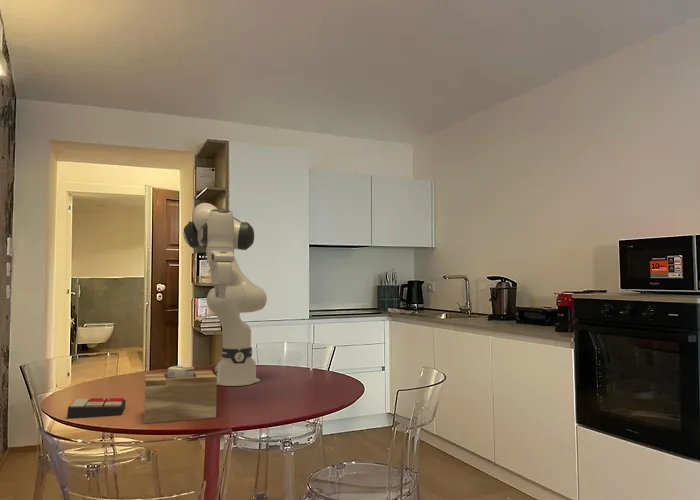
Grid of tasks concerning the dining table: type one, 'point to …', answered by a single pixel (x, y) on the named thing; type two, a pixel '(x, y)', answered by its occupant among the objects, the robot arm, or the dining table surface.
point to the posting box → (179, 397)
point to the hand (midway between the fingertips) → (220, 298)
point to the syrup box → (180, 372)
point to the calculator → (96, 407)
